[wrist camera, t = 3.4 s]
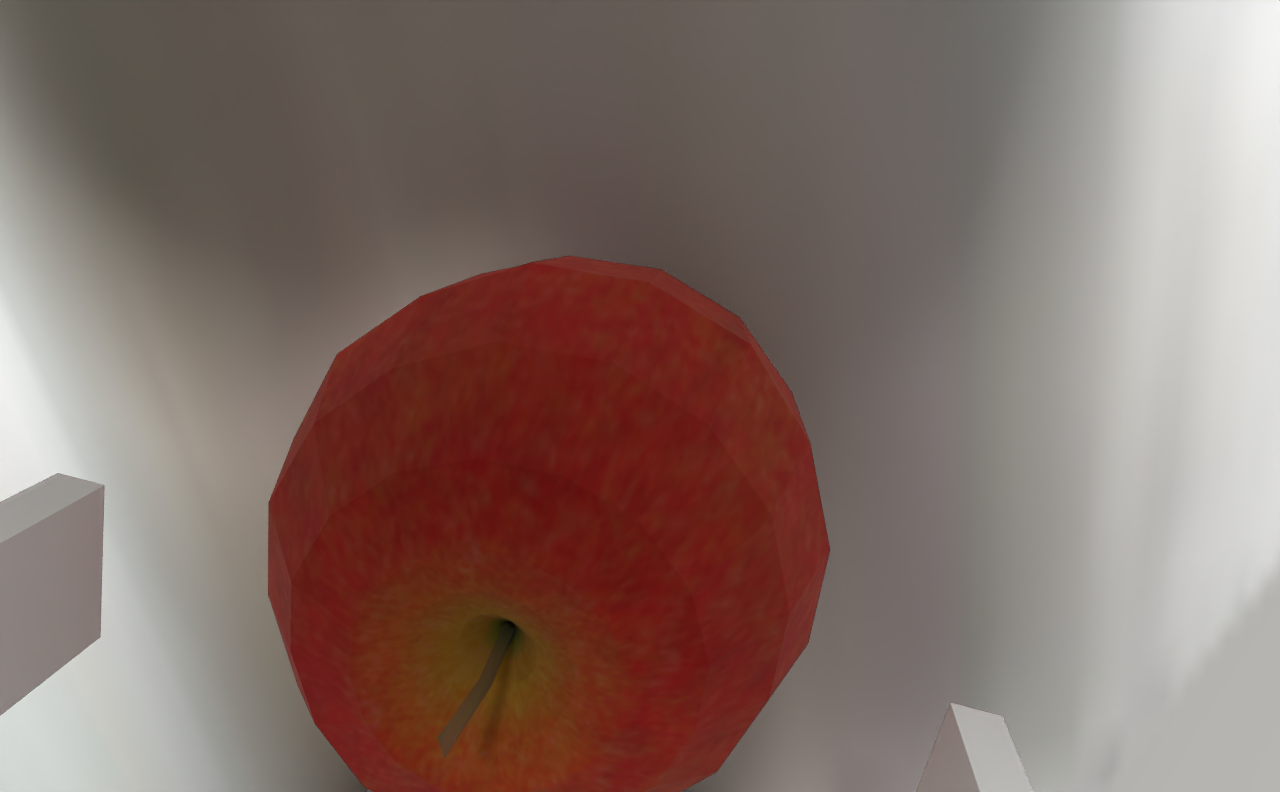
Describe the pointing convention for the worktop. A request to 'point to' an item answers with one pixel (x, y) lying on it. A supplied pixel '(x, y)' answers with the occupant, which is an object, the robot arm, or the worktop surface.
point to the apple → (546, 536)
